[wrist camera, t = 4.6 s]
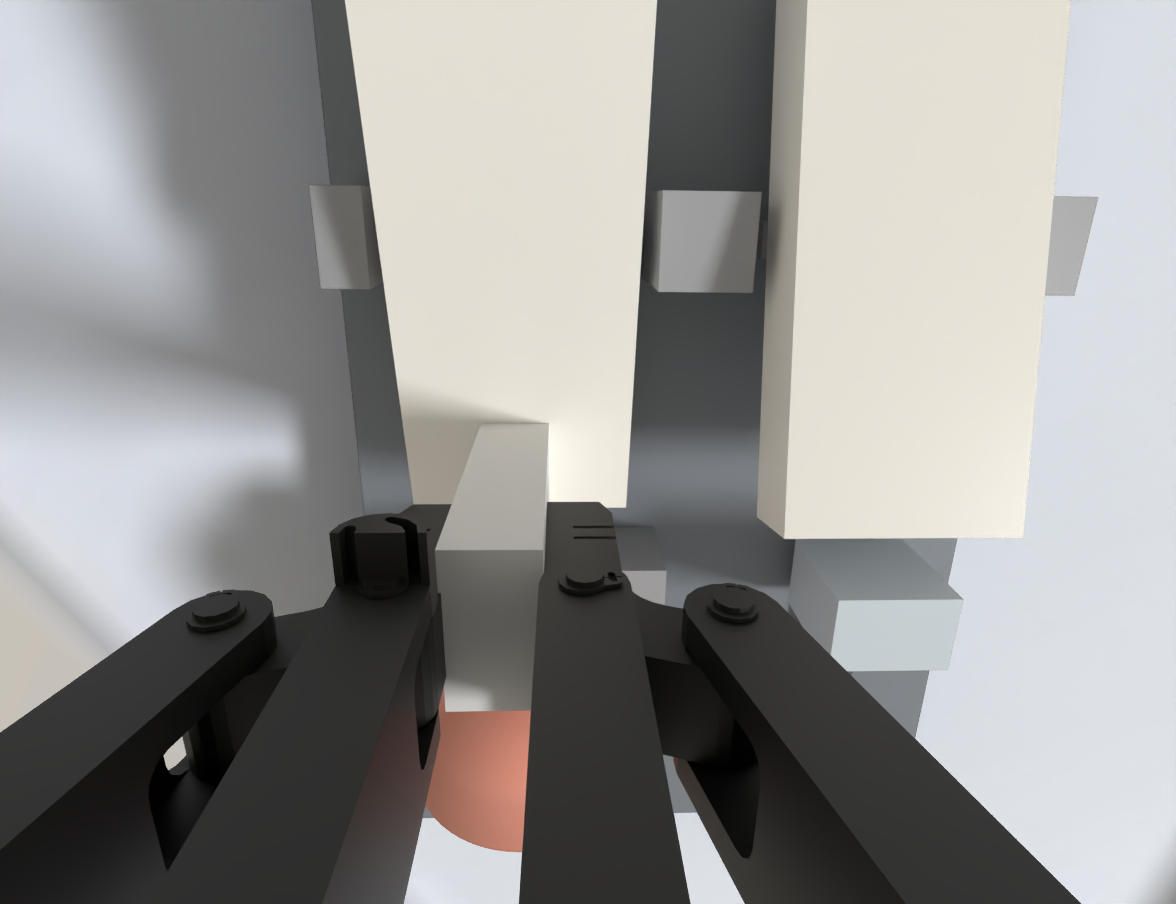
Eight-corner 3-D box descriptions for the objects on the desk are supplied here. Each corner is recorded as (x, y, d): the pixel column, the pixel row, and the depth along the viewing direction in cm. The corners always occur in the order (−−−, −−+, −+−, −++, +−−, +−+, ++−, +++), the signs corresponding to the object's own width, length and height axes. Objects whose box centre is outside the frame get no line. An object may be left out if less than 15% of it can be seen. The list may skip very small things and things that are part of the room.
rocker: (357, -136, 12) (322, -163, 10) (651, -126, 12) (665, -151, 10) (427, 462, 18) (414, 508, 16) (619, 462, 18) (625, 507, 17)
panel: (331, -57, 17) (240, -163, 12) (1028, -38, 17) (1204, -129, 12) (408, 772, 25) (372, 904, 20) (875, 763, 26) (946, 889, 21)
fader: (795, 539, 19) (839, 600, 16) (901, 538, 19) (963, 599, 16) (787, 601, 20) (828, 671, 17) (890, 600, 20) (947, 670, 17)
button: (437, 602, 18) (409, 692, 15) (611, 601, 18) (623, 690, 15) (446, 742, 20) (423, 854, 16) (607, 740, 20) (617, 849, 17)
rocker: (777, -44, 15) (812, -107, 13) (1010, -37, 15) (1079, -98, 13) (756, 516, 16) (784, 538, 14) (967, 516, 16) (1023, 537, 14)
